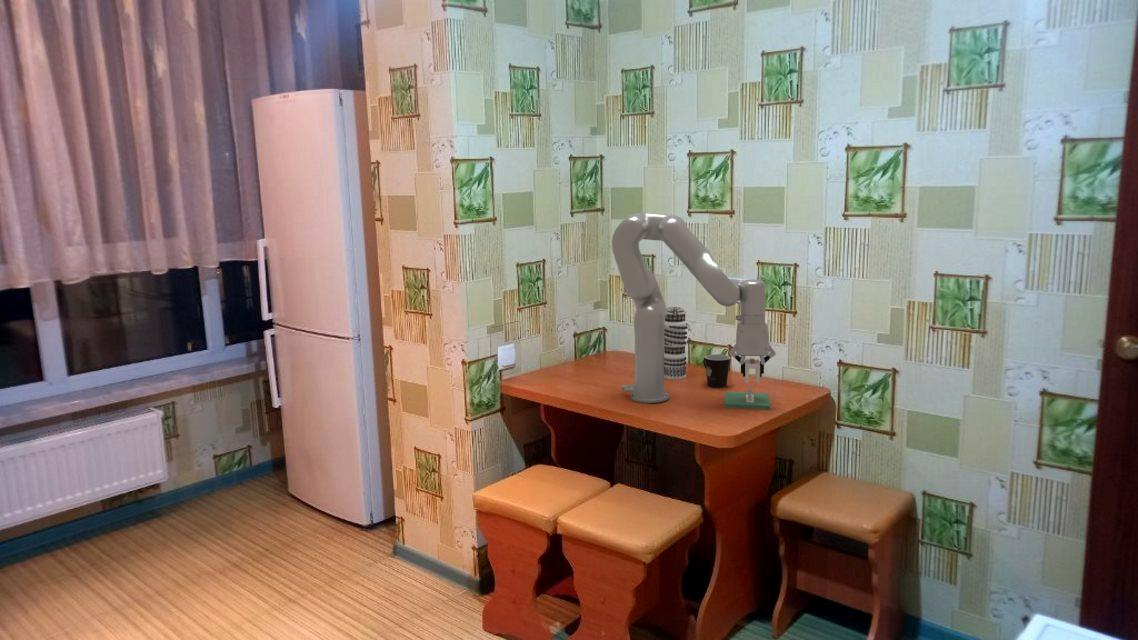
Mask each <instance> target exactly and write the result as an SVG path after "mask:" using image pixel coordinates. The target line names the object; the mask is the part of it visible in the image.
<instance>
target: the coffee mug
mask: <svg viewBox="0 0 1138 640" xmlns="http://www.w3.org/2000/svg"><path fill="white" fill-rule="evenodd" d="M702 360H703V361H702V364H703V366H704V368H705V371H706V382H707V387H709V388H712V389H723V387H724V388H727V386H728V385H727V383H728V377H729V370H730V364H731V363H730V361H731V356H729V355H725V354H717V353H716V354H715V353H714V354H708V355H705V356H704V357H703V359H702Z"/></svg>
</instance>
